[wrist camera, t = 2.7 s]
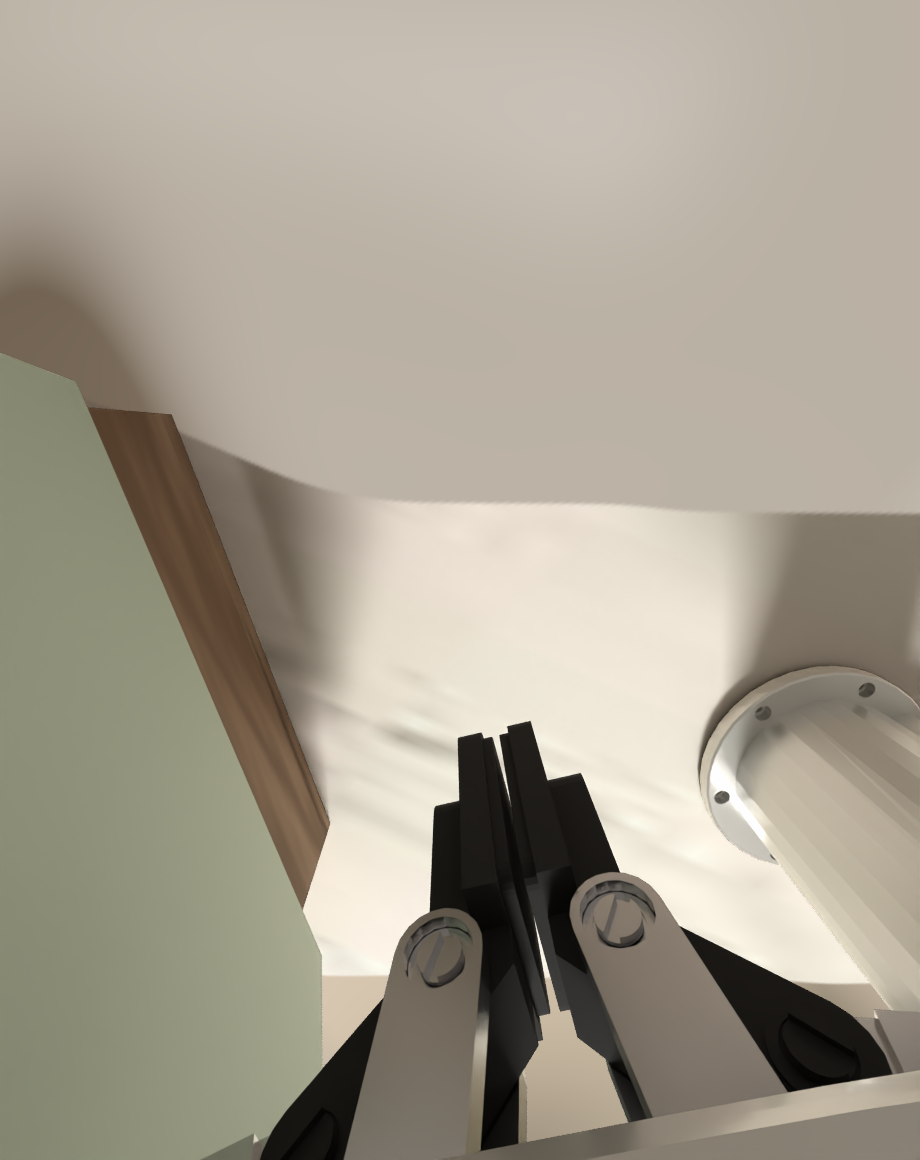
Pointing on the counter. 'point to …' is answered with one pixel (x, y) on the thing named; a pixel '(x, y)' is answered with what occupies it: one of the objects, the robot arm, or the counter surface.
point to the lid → (125, 838)
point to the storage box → (217, 630)
